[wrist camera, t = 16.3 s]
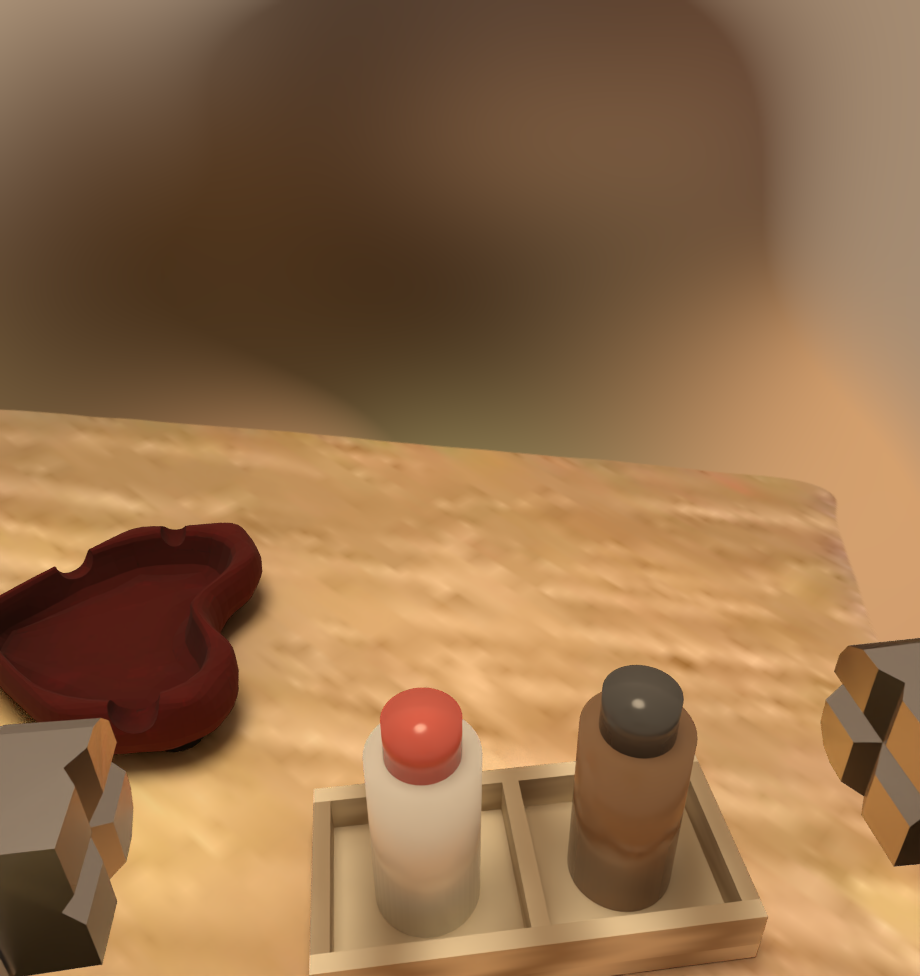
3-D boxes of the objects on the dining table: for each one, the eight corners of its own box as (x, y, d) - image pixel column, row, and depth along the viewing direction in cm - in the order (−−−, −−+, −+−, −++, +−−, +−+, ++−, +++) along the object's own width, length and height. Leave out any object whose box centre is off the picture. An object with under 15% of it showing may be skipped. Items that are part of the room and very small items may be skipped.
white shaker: (376, 943, 37) (360, 773, 31) (373, 845, 41) (358, 678, 35) (486, 931, 37) (490, 761, 32) (473, 835, 42) (474, 669, 36)
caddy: (316, 1014, 36) (309, 974, 34) (319, 828, 43) (313, 788, 42) (755, 956, 37) (768, 916, 36) (684, 788, 45) (692, 748, 43)
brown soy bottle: (581, 918, 38) (600, 745, 32) (556, 825, 42) (570, 657, 36) (686, 904, 38) (723, 731, 33) (651, 814, 42) (679, 647, 37)
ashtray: (39, 585, 61) (20, 526, 58) (273, 573, 62) (264, 515, 59) (-75, 794, 45) (-109, 727, 43) (237, 773, 46) (223, 707, 44)
